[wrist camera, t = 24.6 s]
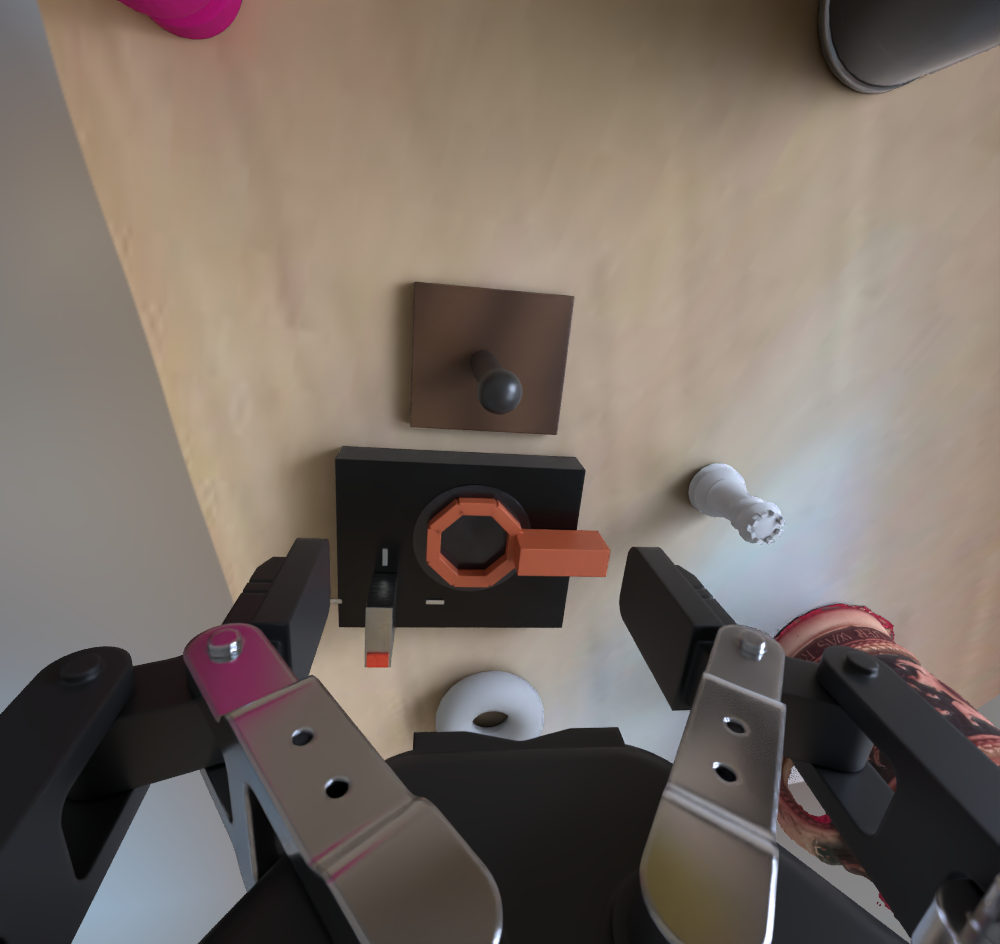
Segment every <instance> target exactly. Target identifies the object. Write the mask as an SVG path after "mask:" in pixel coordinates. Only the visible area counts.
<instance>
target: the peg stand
mask: <svg viewBox="0 0 1000 944" xmlns="http://www.w3.org/2000/svg"><path fill="white" fill-rule="evenodd" d="M573 305H574V296H565V295H554V294H543V293H532V292H521V291H510V290H499V289H488V288H477V287H466V286H455V285H444V284H433V283H422V282H415V283H414V316H413V350H412V385H411V419H410V426H411V427H421V428H440V429H458V430H477V431H496V432H514V433H533V434H552V435H557V430H558V422H559V414H560V406H561V399H562V391H563V383H564V375H565V367H566V359H567V352H568V344H569V336H570V328H571V320H572V313H573Z"/></svg>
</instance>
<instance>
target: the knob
mask: <svg viewBox="0 0 1000 944" xmlns="http://www.w3.org/2000/svg"><path fill="white" fill-rule="evenodd" d="M396 595H397V574H391V573H373V577H372V581H371V586H370V590H369V595H368V600H367V604H366V619H365V667H390V666H391V658H392V650H393V642H394V634H395V620H396Z"/></svg>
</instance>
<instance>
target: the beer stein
mask: <svg viewBox="0 0 1000 944" xmlns="http://www.w3.org/2000/svg"><path fill="white" fill-rule="evenodd" d="M866 608H867V607H865V606H863V607H859V606H855V605H854V606H848V605H846V606H845V605H844V604H836V605H831V606H827V607H822V608H821V607H820V608H819V609H815V610H813V611H811V612H810V613H807V614H806V615H804V616H800V617H799V618H797V619H795V620H794V621H793V622H792V623H791V624H790V625H788V626H787V627H785V629H784V630H783V631H782V632H781V633H780V634H779V635H778V636H777V637H776V638H775V640H776V641H777V642H778V643H779V644H780V645H781V646H782V648H783V650H784V652H785V656H788V657H793V658H797V659H802V660H807V661H812V662H816V663H820V660H821V657H822V654H823V652H824V650H825V649H826V648H827V647H829V646H836V645H839V646H847V647H851V648H855V649H858V650H861V651H864V652H866V653H868V654H870V655H872V656H874V657H876V658H878V659H879V660H881V661H882V662H884V663H885V664H887V665H888V666H889V667H890V668H891V669H893V670H894V671H895V672H896V673H897V674H898V675H899V676H900V677H901V678H902V679H903V680H905V681H906V682H907V683H908V684H909V685H910V686H911V687H912V688H913V689H914V690H916V691H917V692H918V693H919V694H920V695H921V696H922V697H923V698H924V699H925V700H926V701H928V702H929V703H930V704H931V705H932V706H933V707H934V708H935V709H936V710H937V711H938V712H940V713H941V714H942V715H943V716H944V717H945V718H946V719H947V720H948V721H949V722H950V723H952V724H953V725H954V726H955V727H956V728H957V729H958V730H959V731H960V732H961V733H963V734H964V735H965V736H966V737H967V738H968V739H969V740H970V741H971V742H972V743H973V744H975V745H976V746H977V747H978V748H979V749H980V750H981V751H982V752H983V753H984V754H985V755H987V756H988V757H989V758H990V759H991V760H992V761H993V762H994V763H995V764H996V765H997V766H999V767H1000V730H999V729H998V728H996V727H995V726H993V725H992V724H991V723H990V722H989V720H988V719H986V718H985V717H984V716H983V715H981V714H980V713H979V712H978V711H977V710H976V709H974V708H973V707H972V706H971V705H970V704H969V702H967V701H966V700H965V699H964V698H963V697H962V696H961V695H959V694H958V693H957V692H955V691H954V690H953V689H951V688H950V687H948V686H947V685H945V684H944V683H943V682H941V681H940V680H938V679H937V678H936V677H935V676H934V675H932V674H931V673H929V672H928V671H927V670H925V669H924V668H922V665H921V663H920V662H919V660H918V659H917V658H916V657H915V656H914V655H913V654H912V653H911V652H910V651H908V650H907V649H905V648H903V647H901V646H899V645H897V644H896V643H895V642H894V634H893V633H894V632H893V626H894V625H893V626H892V624H891V623H889V621H887V620H886V619H885V620H884V618H882V617H881V616H877V615H876V614H874V613H872V612H871V609H870V610H869V609H868V608H867V609H866ZM867 760H868V761H869V763H870V764H871V765H872V766H873V767H874V769H875V770H876V771H877V772H878V773H879V775H880V776H881V777H882V778H883V779H884V781H885V782H886V783H887V784H888V785H889V787H890V788H891V789H892V790H893V791H894V793H895V790H896V777H895V773H894V770H893V768H892V766H891V764H890V763H889V761H888V760H887V759H886V758H885V756H884V755H883V754H882V753H881V752H880V751H879V750H878V748H877V747H876V746H875V745H873V748H872V750H871V752H870V754H869V757H868V759H867ZM793 766H794V764H793V762H792V761H791V759H790V758H786V757H782V767H781V779H780V791H779V802H778V814H777V821H778V822H779V824H780V826H781V828H782V829H783V830H784V832H785V833H786V834H787V835H788V836H789V837H790V838H791V839H792V840H794V841H795V842H796V843H797V844H798V845H799V846H801V847H802V848H804V849H805V850H807V851H808V852H809V853H810V854H812V855H814V856H816V857H817V858H819V859H820V860H821V861H822V862H824V863H826V864H830V865H843V867H844V868H845V869H846V870H847V871H848V872H850V873H853V874H856V875H861V876H864V877H866V878H867V879H869V880H870V881H871V882H872V880H871V879H870V877H869V876H868V874H867V873H866V871H865V870H864V868H863V867H862V865H861V864H860V862H859V861H858V859H857V858H856V856H855V855H854V853H853V852H852V851H851V849H850V848H849V846H848V845H847V843H846V842H845V840H844V839H843V837H842V836H841V834H840V833H839V831H838V830H837V828H836V827H835V825H834V824H833V822H832V821H831V819H830V818H829V816H828V815H827V813H826V815H823V816H820V817H818V816H813V815H809V814H808V812H806V811H804V810H803V808H802V806H800V805H798V804H797V803H796V801H795V799H794V798H793V796H792V794H791V792H790V791H789V789H788V779H789V777H790V776H789V775H790V774H791V768H792V767H793ZM879 898H880V899H881V900H882V901H883V902H884V903H885V907H887V908H888V909H890V907H889V906H888V904H887V903H886V901H885V900H884V898H883V897H882V895H881V894H880V892H879ZM877 904H878V902H877ZM879 906H881V904H880V905H879ZM890 910H891V909H890ZM891 911H892V910H891ZM894 917H895V918H896V916H895V915H894ZM896 919H897V918H896ZM897 920H898V919H897Z"/></svg>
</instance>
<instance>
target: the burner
mask: <svg viewBox="0 0 1000 944" xmlns="http://www.w3.org/2000/svg"><path fill="white" fill-rule="evenodd" d="M458 498H488V499H495V501H497V500H498V501H499V502H500V503H501V504H502V505H503V506H504V507H505V508H506V509H507V510H508V511H509V513H510V514H511V515H512V516H513V517H514V518H515V519H516V520H517V521H518V522H519V523H520V526H521V529H531V527H530V523H529V520H528V517H527V515H526V513H525V511H524V510H523V508H522V507H521V506H520V504H519V503H518V502H517V501H516V500H515V499H514V498H513V497H511V496H510V495H508V494H507V493H505V492H503V491H501V490H499V489H496V488H494V487H490V486H485V485H464V486H459V487H455V488H452V489H449V490H447V491H445V492H443V493H441V494H439V495H438V496H437V497H435V498H434V499H432V500H431V501H430V502H429V503H428V504H427V505H426V506H425V508H424V509H423V510H422V512H421V513H420V515H419V517H418V519H417V521H416V524H415V527H414V531H413V549H414V553H415V556H416V559H417V561H418V563H419V565H420V566H421V568H422V569H423V570H424V572H425V573H426V574H427V575H428V576H429V577H431V578H432V579H433V580H434V581H436V582H438V583H439V584H441V585H443V586H445V587H448V588H451V589H455V590H460V591H479V590H485V589H488V588H492V587H494V586H497V585H499V584H501V583H503V582H504V581H506V580H507V579H509V578H510V577H511V576H512V575H514V574H515V573H516V568H514V569H513V570H511V571H510V572H509V573H508V574H506V575H505V576H504V577H503V578H501V579H500V580H499V581H498V582H496V583H495V584H494V585H493V586H490V585H489V587H454V584H453V585H452V586H451V585H450V584H449V583H448V582H447V581H445V580H444V579H443V578H442V577H441V576H440V575H439V574H438V573H437V572H436V571H435V570H434V569H432V568H431V567H430V566H429V565H428V564H427V561H426V551H427V528H428V523H429V521H430V520H431V519H432V518H434V517H435V516H436V515H437V514H438V513H439V512H441V511H442V510H443V509H444V508H445V507H447V506H448V505H449V504H450V503H451V502H453V501H454V500H455V499H457V500H458ZM506 541H507V532H506V531H505V530H504V529H503V528H502V527H501V526H500V525H499V524H498V523H497V522H496V521H495V519H494V518H493V517H492V516H472V515H462V516H461V517H459V518H458V519H457V520H456V521H455V522H453V523H452V524H451V525H450V526H449V527H447V528H446V529H445V530H444V531H443V532H441V546H440V553H441V554H442V555H443V556H444V557H445V558H446V559H447V560H448V561H450V562H451V563H452V564H453V565H454V566H455V567H456V568H457V569H466V570H485V569H486V568H488V567H489V566H490V565H491V564H493V563H494V562H495V561H496V560H498V559H499V558H500V557H501V556H502V555H504V554H505V551H506Z"/></svg>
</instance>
